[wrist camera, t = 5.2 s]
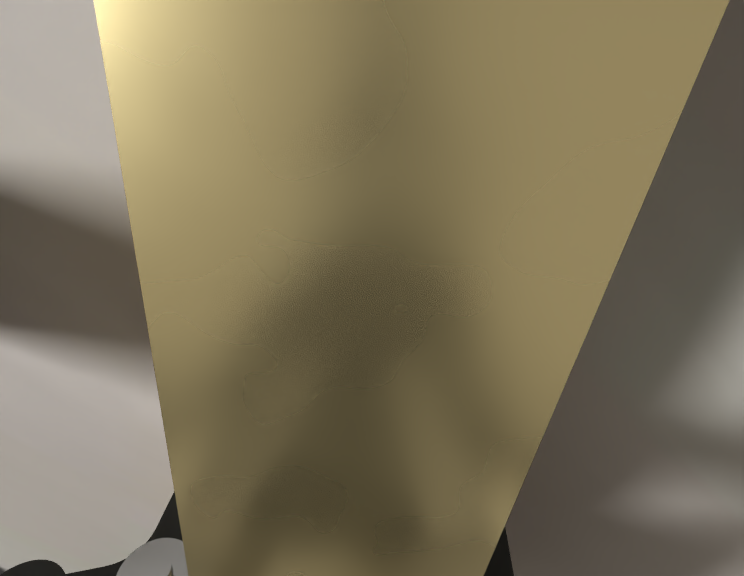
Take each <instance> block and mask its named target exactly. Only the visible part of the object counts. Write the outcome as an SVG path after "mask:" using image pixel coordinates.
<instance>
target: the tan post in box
mask: <svg viewBox="0 0 744 576" xmlns="http://www.w3.org/2000/svg"><path fill="white" fill-rule="evenodd" d="M729 1H730V0H94V6H95V12H96V18H97V24H98V30H99V36H100V43H101V49H102V55H103V61H104V67H105V73H106V79H107V85H108V91H109V97H110V103H111V109H112V115H113V121H114V127H115V133H116V140H117V146H118V152H119V158H120V164H121V170H122V176H123V182H124V188H125V194H126V200H127V206H128V212H129V218H130V224H131V230H132V237H133V243H134V249H135V255H136V261H137V267H138V273H139V279H140V285H141V291H142V297H143V303H144V309H145V315H146V321H147V327H148V334H149V340H150V346H151V352H152V358H153V364H154V370H155V376H156V382H157V388H158V394H159V400H160V406H161V412H162V418H163V424H164V431H165V437H166V443H167V449H168V455H169V461H170V467H171V473H172V479H173V485H174V491H175V497H176V503H177V509H178V515H179V521H180V528H181V534H182V540H183V546H184V552H185V558H186V564H187V570H188V576H484V573H485V571H486V569H487V566H488V564H489V562H490V559H491V557H492V555H493V552H494V550H495V548H496V545H497V543H498V541H499V538H500V536H501V534H502V531H503V529H504V527H505V524H506V522H507V520H508V517H509V515H510V513H511V510H512V508H513V505H514V503H515V501H516V498H517V496H518V494H519V491H520V489H521V487H522V484H523V482H524V480H525V477H526V475H527V473H528V470H529V468H530V466H531V463H532V461H533V459H534V456H535V454H536V452H537V449H538V447H539V445H540V442H541V440H542V438H543V435H544V433H545V431H546V428H547V426H548V424H549V421H550V419H551V417H552V414H553V412H554V410H555V407H556V405H557V403H558V400H559V398H560V396H561V393H562V391H563V389H564V386H565V384H566V382H567V379H568V377H569V375H570V372H571V370H572V368H573V365H574V363H575V361H576V358H577V356H578V354H579V351H580V349H581V347H582V344H583V342H584V340H585V337H586V335H587V333H588V330H589V328H590V326H591V323H592V321H593V318H594V316H595V314H596V311H597V309H598V307H599V304H600V302H601V300H602V297H603V295H604V293H605V290H606V288H607V286H608V283H609V281H610V279H611V276H612V274H613V272H614V269H615V267H616V265H617V262H618V260H619V258H620V255H621V253H622V251H623V248H624V246H625V244H626V241H627V239H628V237H629V234H630V232H631V230H632V227H633V225H634V223H635V220H636V218H637V216H638V213H639V211H640V209H641V206H642V204H643V202H644V199H645V197H646V195H647V192H648V190H649V188H650V185H651V183H652V181H653V178H654V176H655V174H656V171H657V169H658V167H659V164H660V162H661V160H662V157H663V155H664V153H665V150H666V148H667V146H668V143H669V141H670V139H671V136H672V134H673V131H674V129H675V127H676V124H677V122H678V120H679V117H680V115H681V113H682V110H683V108H684V106H685V103H686V101H687V99H688V96H689V94H690V92H691V89H692V87H693V85H694V82H695V80H696V78H697V75H698V73H699V71H700V68H701V66H702V64H703V61H704V59H705V57H706V54H707V52H708V50H709V47H710V45H711V43H712V40H713V38H714V36H715V33H716V31H717V29H718V26H719V24H720V22H721V19H722V17H723V15H724V12H725V10H726V8H727V5H728V3H729Z"/></svg>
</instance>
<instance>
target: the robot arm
mask: <svg viewBox="0 0 744 576" xmlns="http://www.w3.org/2000/svg"><path fill="white" fill-rule="evenodd" d="M0 576H188V570H187V564H186V558H185V552H184V546H183V540H182V534H181V528H180V521H179V515H178V509H177V503H176V497H175V491H174V493H173V495H172V497H171V499H170V501H169V503H168V505H167V507H166V510H165V512H164V514H163V516H162V518H161V520H160V522H159V524H158V526H157V528H156V530H155V531H154V533H153V535H152V536H151V537H150V539H149V540H148V541H147V542H146V543H145V544H143V545H142V546H140V547H139V548H137V549H136V550H135V551H133V552H132V553H131V554H130V555H129V556H128V557H127V558H126V559H124V560H122V561H120V562H118V563H115V564H113V565H109V566H105V567H100V568H95V569H90V570H85V571H80V572H74V573H69V574H65V572H64V571H63V569H62V568H61V567H60V566H59V565H58V564H57V563H55V562H52V561H48V560H33V561H28V562H25V563H22V564H19V565H17V566H15V567H13V568H11V569H9V570H7V571H6V572H4V573H3V574H1V575H0ZM484 576H514V574H513V568H512V563H511V557H510V552H509V546H508V541H507V535H506V530H505V527H504V529H503V531H502V534H501V536H500V538H499V541H498V543H497V545H496V548H495V550H494V552H493V555H492V557H491V559H490V562H489V564H488V566H487V569H486V571H485V573H484Z"/></svg>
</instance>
